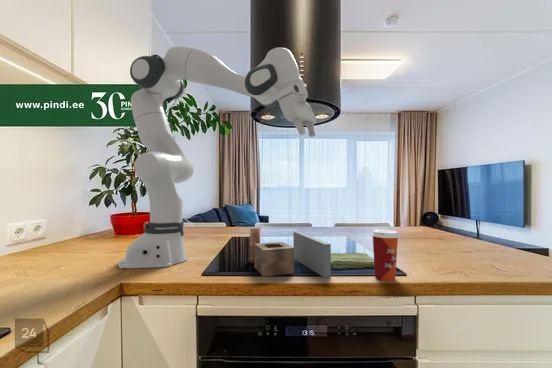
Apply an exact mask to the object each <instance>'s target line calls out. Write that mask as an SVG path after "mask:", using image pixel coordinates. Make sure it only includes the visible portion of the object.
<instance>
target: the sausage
mask: <svg viewBox="0 0 552 368" xmlns="http://www.w3.org/2000/svg"><path fill="white" fill-rule="evenodd" d="M260 230H261V228H260V227H250V228H249V262H250V263H252V264H255V244H257V243H261V241H260V240H261V238H260V237H261V231H260Z"/></svg>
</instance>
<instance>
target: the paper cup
mask: <svg viewBox="0 0 552 368" xmlns="http://www.w3.org/2000/svg"><path fill="white" fill-rule="evenodd" d="M398 233H399V232H398V231H396V230H393V229H374V230H373V231H372V233H371V236H372V244H373V245H372V248H373V249H372V250H373V251H372V252H373V259H374V268H373V269H374V278H375V279H376V280H378V281H382V282H393V281H395V280H396V273H397V256H398V240H399V237H400V235H399V234H398Z"/></svg>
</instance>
